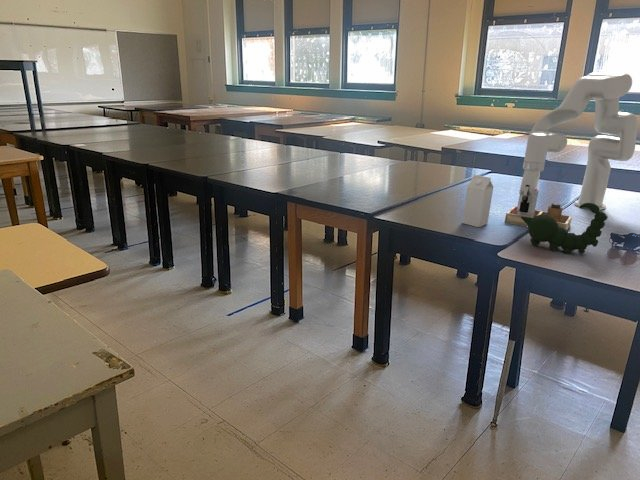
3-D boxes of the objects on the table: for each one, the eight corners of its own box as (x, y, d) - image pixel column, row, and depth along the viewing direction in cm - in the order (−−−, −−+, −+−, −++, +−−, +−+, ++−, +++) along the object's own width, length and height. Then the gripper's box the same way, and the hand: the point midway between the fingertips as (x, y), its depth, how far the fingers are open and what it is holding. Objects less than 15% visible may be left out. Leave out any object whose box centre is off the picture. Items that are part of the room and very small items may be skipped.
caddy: (512, 214, 202) (516, 194, 198) (570, 225, 190) (574, 203, 187) (504, 222, 191) (508, 200, 188) (564, 233, 180) (569, 210, 177)
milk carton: (471, 219, 193) (478, 173, 187) (487, 224, 189) (495, 176, 182) (461, 223, 188) (468, 175, 182) (478, 227, 184) (486, 179, 177)
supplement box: (533, 219, 190) (539, 190, 186) (518, 217, 191) (523, 189, 187) (530, 214, 195) (536, 187, 191) (515, 213, 196) (520, 186, 192)
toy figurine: (593, 257, 163) (517, 235, 175) (612, 204, 156) (532, 185, 168) (589, 265, 156) (511, 242, 168) (609, 211, 148) (526, 190, 160)
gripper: (528, 161, 195) (520, 203, 201) (518, 168, 181) (510, 213, 187) (548, 163, 191) (540, 206, 197) (539, 170, 177) (530, 216, 183)
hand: (525, 209), depth 192 cm, fingers closed on supplement box, 7 cm apart
